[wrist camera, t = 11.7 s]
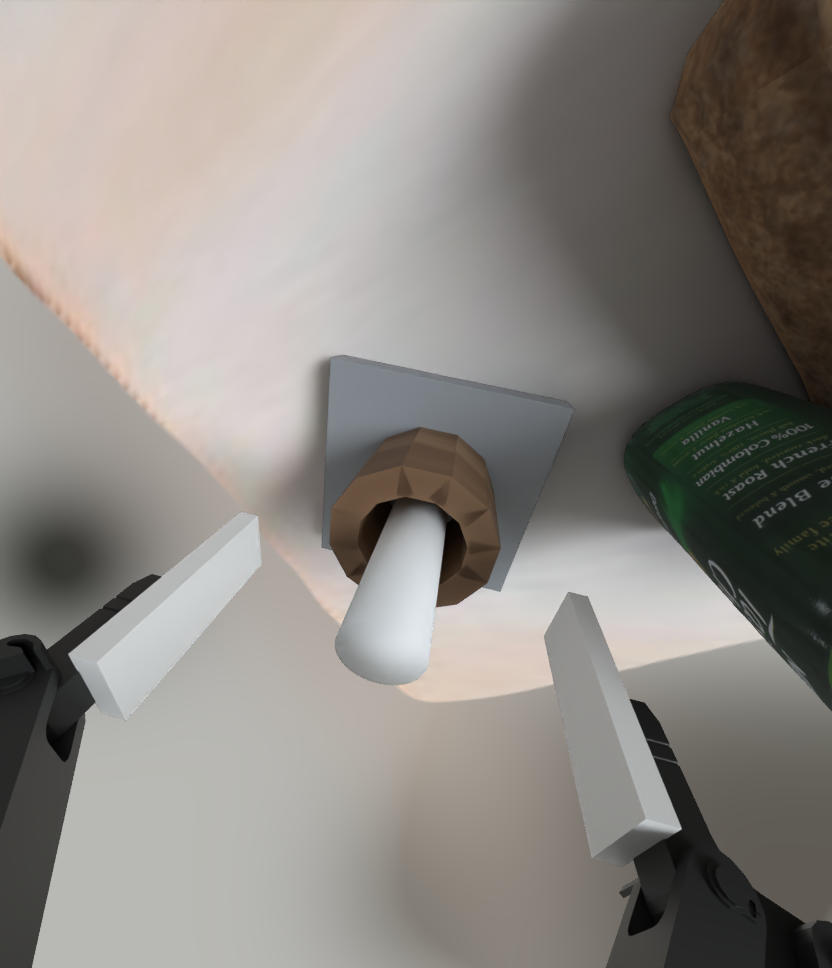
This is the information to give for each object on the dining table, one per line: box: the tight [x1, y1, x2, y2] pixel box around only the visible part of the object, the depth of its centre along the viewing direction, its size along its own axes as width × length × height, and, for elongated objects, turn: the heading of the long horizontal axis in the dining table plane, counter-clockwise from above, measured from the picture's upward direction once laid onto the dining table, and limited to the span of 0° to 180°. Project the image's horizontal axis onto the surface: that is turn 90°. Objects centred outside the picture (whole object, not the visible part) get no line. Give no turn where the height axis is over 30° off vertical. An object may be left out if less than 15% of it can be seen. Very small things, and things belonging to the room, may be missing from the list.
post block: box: [322, 355, 575, 685], centre depth 17 cm, size 14×14×14 cm
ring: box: [329, 427, 501, 607], centre depth 19 cm, size 8×8×6 cm
